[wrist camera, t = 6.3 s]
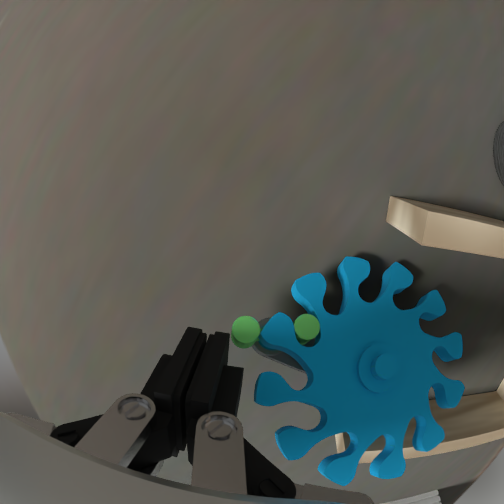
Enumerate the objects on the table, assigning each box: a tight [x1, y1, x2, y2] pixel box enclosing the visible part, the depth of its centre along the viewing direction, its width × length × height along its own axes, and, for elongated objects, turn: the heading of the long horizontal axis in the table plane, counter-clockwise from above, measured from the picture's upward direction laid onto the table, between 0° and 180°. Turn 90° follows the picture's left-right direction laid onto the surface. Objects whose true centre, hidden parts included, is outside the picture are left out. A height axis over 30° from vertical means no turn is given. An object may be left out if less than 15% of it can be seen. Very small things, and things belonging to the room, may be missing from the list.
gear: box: [231, 256, 465, 486], centre depth 13 cm, size 11×6×10 cm
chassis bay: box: [335, 196, 504, 463], centre depth 13 cm, size 13×15×4 cm
